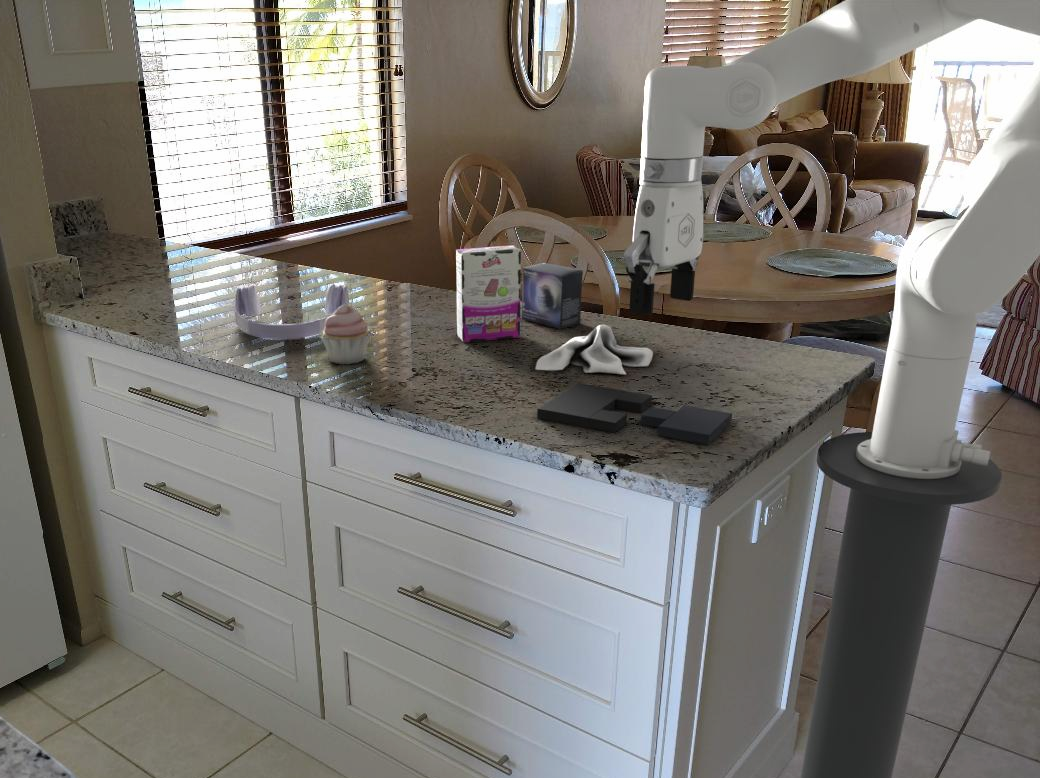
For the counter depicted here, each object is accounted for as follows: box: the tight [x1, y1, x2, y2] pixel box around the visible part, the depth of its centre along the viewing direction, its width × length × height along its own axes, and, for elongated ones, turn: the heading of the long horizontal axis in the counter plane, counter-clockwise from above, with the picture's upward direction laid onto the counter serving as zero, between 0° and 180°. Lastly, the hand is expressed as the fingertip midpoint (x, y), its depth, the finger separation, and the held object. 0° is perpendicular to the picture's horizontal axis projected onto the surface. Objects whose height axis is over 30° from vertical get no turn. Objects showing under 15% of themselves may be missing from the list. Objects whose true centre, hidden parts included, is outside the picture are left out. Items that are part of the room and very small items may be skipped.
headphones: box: [233, 283, 350, 340], centre depth 195 cm, size 22×7×20 cm
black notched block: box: [536, 382, 653, 434], centre depth 146 cm, size 12×14×2 cm
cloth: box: [534, 324, 654, 376], centre depth 169 cm, size 22×19×6 cm
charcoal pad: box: [640, 404, 733, 446], centre depth 139 cm, size 11×10×2 cm
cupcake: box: [318, 304, 374, 365], centre depth 171 cm, size 9×9×10 cm
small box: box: [520, 262, 584, 330], centre depth 192 cm, size 11×6×10 cm, turn 40°
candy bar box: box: [455, 245, 522, 343], centre depth 182 cm, size 11×5×16 cm, turn 101°
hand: (661, 305), depth 132 cm, fingers open, 9 cm apart
